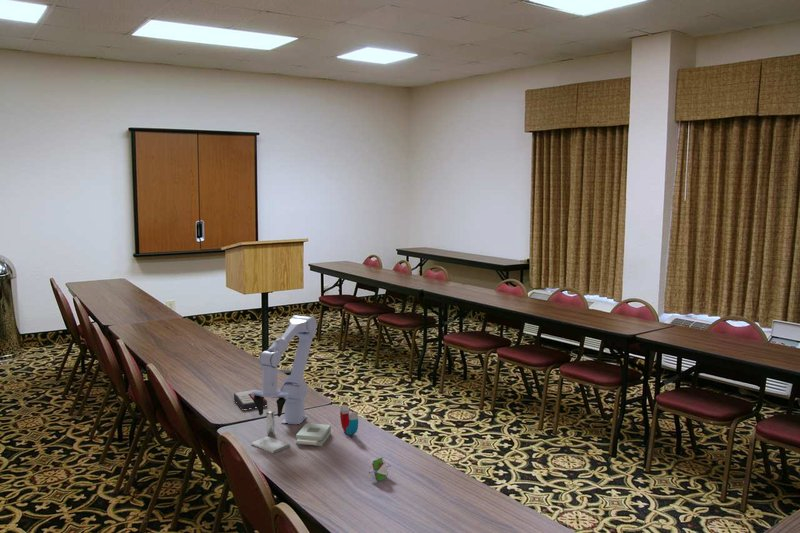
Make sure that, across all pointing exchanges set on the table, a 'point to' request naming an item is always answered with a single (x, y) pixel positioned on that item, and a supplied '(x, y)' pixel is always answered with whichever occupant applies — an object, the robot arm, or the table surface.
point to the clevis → (313, 434)
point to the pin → (270, 423)
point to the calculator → (246, 399)
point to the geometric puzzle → (379, 469)
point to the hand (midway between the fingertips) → (270, 415)
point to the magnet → (348, 420)
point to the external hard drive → (270, 444)
